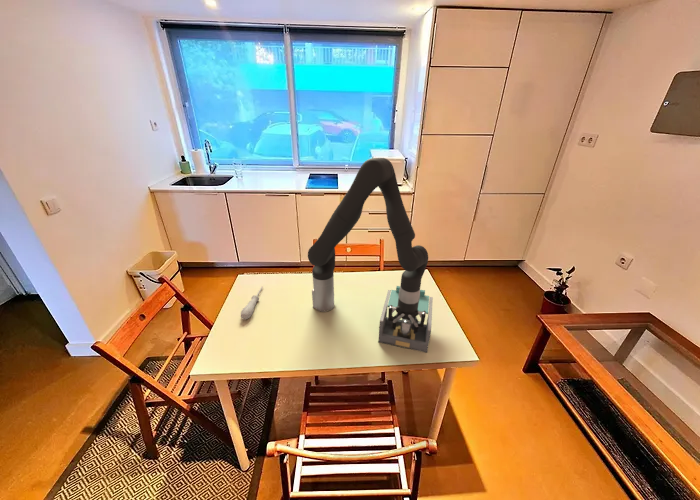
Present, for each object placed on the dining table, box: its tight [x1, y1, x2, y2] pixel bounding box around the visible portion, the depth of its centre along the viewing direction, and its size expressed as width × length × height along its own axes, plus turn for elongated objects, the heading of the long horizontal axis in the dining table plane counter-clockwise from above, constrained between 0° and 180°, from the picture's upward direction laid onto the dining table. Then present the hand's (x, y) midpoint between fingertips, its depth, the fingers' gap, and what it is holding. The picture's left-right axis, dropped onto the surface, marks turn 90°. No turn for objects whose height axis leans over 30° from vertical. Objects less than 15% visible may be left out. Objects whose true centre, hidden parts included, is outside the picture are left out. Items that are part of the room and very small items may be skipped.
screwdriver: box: [240, 286, 264, 320], centre depth 136 cm, size 5×25×4 cm, turn 177°
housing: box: [377, 289, 434, 353], centre depth 119 cm, size 19×20×12 cm
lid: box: [387, 285, 430, 315], centre depth 119 cm, size 16×11×3 cm
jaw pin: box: [399, 318, 412, 339], centre depth 114 cm, size 4×4×9 cm
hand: (404, 330), depth 114 cm, fingers open, 7 cm apart
